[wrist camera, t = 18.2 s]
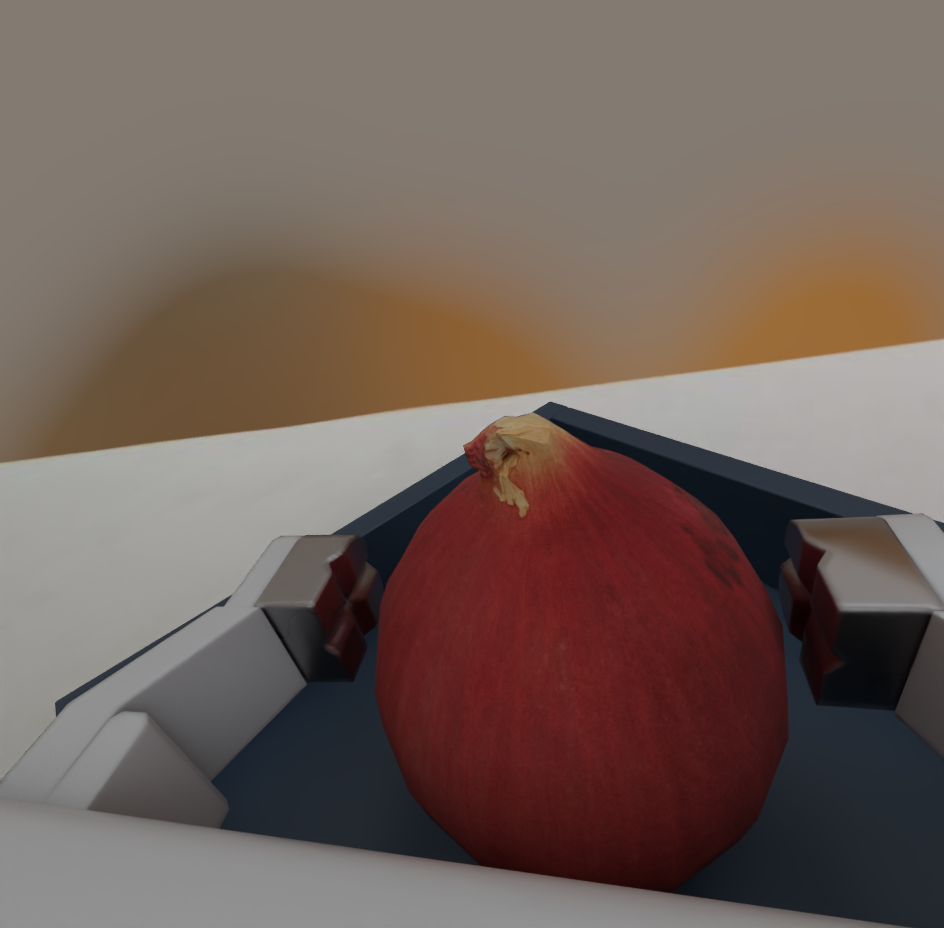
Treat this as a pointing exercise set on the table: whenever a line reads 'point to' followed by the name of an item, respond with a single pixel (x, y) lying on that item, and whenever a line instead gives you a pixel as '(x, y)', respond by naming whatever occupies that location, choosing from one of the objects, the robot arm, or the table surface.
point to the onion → (581, 666)
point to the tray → (793, 787)
